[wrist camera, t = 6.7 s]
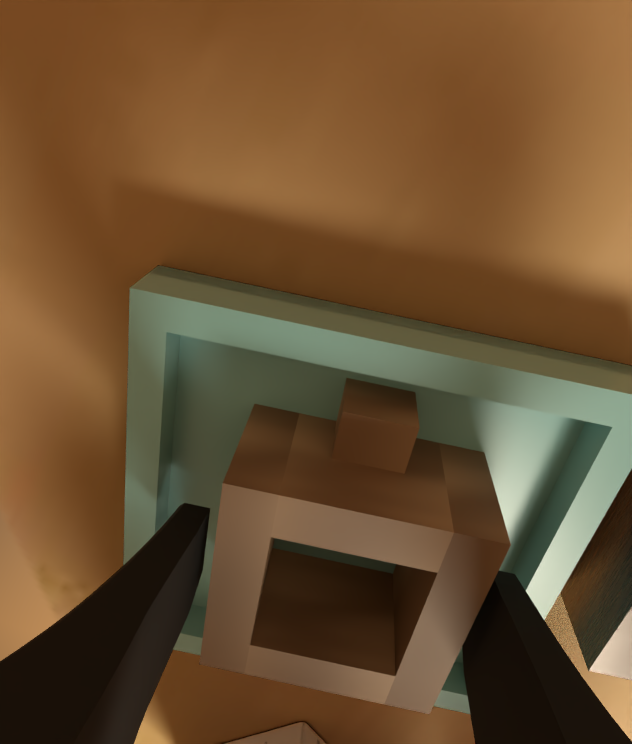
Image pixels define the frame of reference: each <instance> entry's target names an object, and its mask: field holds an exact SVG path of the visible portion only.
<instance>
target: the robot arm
mask: <svg viewBox="0 0 632 744" xmlns="http://www.w3.org/2000/svg"><path fill="white" fill-rule="evenodd" d="M209 515H210V508H207V507H202V506H198V505H193V504H188V503H183V504H181V505H180V506H179V507H178V508H177V509H176V511H175V512H174V513H173V514H172V515H171V517H170V518H169V519H168V520H167V521H166V522H165V523H164V525H163V526H162V527H161V528H160V529H159V530H158V531H157V532H156V533H155V534H154V535H153V536H152V538H151V539H150V540H149V541H148V542H147V543H146V544H145V545H144V546H143V547H142V548H141V549H140V550H139V551H138V552H137V553H136V554H135V555H134V556H133V557H132V558H131V559H130V560H129V561H128V562H127V563H126V564H124V565H123V566H122V567H121V568H120V569H119V570H118V571H117V572H116V573H115V574H114V575H113V576H111V577H110V578H109V579H108V580H107V581H106V582H105V583H103V584H102V585H101V586H100V587H99V588H98V589H97V590H96V591H94V592H93V593H92V594H91V595H90V596H89V597H87V598H86V599H85V600H84V601H83V602H81V603H80V604H79V605H78V606H77V607H75V608H74V609H73V610H71V611H70V612H69V613H68V614H66V615H65V616H64V617H62V618H61V619H60V620H59V621H57V622H56V623H55V624H53V625H52V626H51V627H49V628H48V629H47V630H45V631H44V632H42V633H41V634H40V635H38V636H37V637H35V638H34V639H33V640H31V641H30V642H28V643H27V644H25V645H24V646H22V647H21V648H20V649H18V650H17V651H15V652H14V653H12V654H11V655H9V656H8V657H6V658H5V659H3V660H2V661H0V744H134V741H135V739H136V736H137V733H138V730H139V727H140V725H141V722H142V720H143V717H144V715H145V712H146V710H147V707H148V705H149V703H150V701H151V698H152V696H153V694H154V692H155V689H156V687H157V685H158V682H159V680H160V678H161V676H162V673H163V671H164V669H165V667H166V664H167V662H168V660H169V658H170V655H171V653H172V651H173V649H174V646H175V644H176V642H177V639H178V637H179V635H180V633H181V630H182V628H183V626H184V623H185V621H186V619H187V616H188V614H189V612H190V609H191V606H192V603H193V599H194V596H195V593H196V590H197V587H198V584H199V581H200V578H201V574H202V571H203V565H204V557H205V548H206V540H207V532H208V523H209ZM462 652H463V669H464V677H465V684H466V690H467V696H468V702H469V708H470V714H471V720H472V726H473V732H474V738H475V744H632V741H631V740H630V739H629V738H628V737H627V735H626V734H625V733H624V732H623V731H622V729H621V728H620V727H619V725H618V724H617V723H616V722H615V720H614V719H613V718H612V717H611V715H610V714H609V713H608V711H607V710H606V709H605V707H604V706H603V705H602V703H601V702H600V701H599V699H598V698H597V697H596V695H595V694H594V692H593V691H592V690H591V688H590V687H589V686H588V684H587V683H586V682H585V680H584V679H583V677H582V676H581V675H580V673H579V672H578V670H577V669H576V667H575V666H574V664H573V663H572V662H571V660H570V659H569V657H568V656H567V654H566V653H565V651H564V650H563V648H562V647H561V645H560V644H559V642H558V641H557V639H556V638H555V636H554V635H553V633H552V632H551V630H550V628H549V627H548V625H547V624H546V622H545V621H544V619H543V618H542V616H541V614H540V613H539V611H538V610H537V608H536V606H535V605H534V603H533V602H532V600H531V599H530V597H529V595H528V594H527V592H526V591H525V589H524V587H523V586H522V584H521V583H520V581H519V580H518V578H517V576H516V575H515V574H513V573H509V572H504V571H498V573H497V575H496V577H495V579H494V581H493V583H492V585H491V587H490V589H489V592H488V594H487V596H486V598H485V600H484V602H483V604H482V606H481V608H480V610H479V612H478V614H477V617H476V619H475V621H474V623H473V625H472V627H471V629H470V631H469V633H468V635H467V637H466V639H465V641H464V644H463V646H462Z"/></svg>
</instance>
